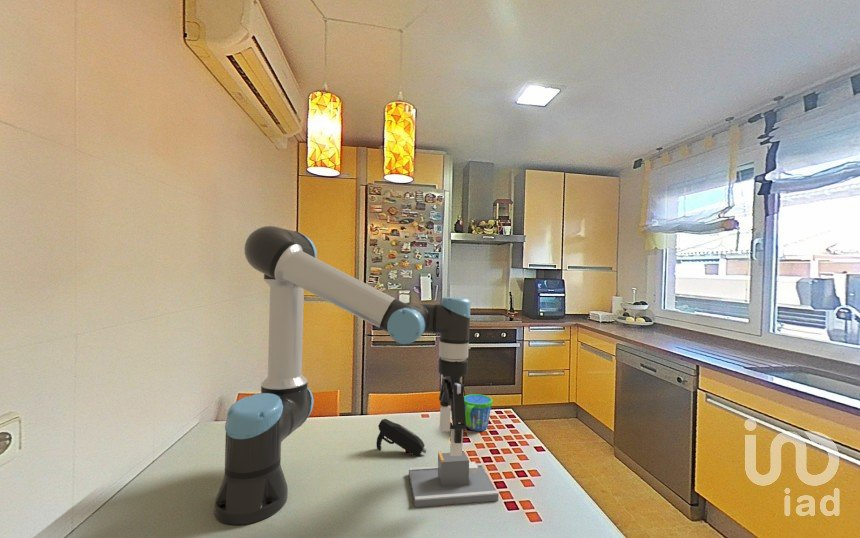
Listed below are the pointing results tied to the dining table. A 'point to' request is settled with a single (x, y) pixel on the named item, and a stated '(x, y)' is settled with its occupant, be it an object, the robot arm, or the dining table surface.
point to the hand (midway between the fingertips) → (449, 442)
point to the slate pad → (449, 488)
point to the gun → (399, 437)
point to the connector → (454, 469)
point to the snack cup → (477, 411)
